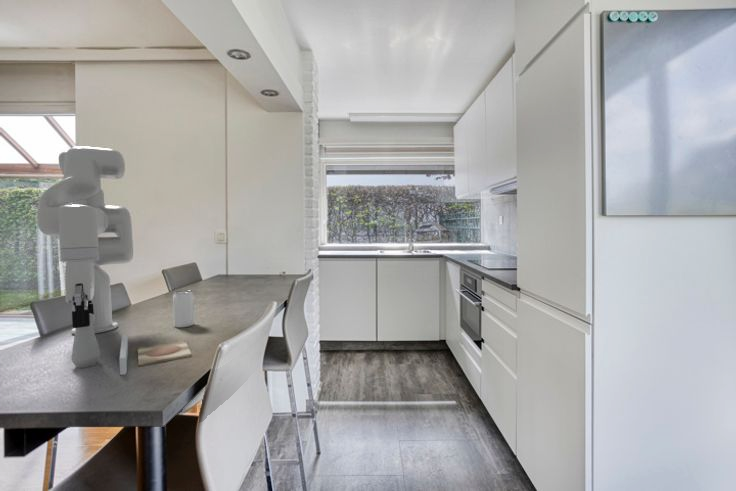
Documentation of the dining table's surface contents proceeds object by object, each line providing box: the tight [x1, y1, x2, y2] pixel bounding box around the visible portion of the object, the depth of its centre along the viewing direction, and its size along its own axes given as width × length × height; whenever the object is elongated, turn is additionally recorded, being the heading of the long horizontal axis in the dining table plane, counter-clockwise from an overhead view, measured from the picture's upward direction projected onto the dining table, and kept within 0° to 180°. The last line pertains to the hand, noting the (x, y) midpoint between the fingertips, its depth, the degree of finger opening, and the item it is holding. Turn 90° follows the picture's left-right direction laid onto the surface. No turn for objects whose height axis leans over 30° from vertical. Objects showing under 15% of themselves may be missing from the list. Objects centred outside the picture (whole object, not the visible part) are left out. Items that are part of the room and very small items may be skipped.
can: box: [172, 289, 196, 329], centre depth 126 cm, size 6×6×12 cm
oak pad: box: [137, 339, 192, 367], centre depth 98 cm, size 14×12×1 cm
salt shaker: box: [70, 313, 101, 369], centre depth 90 cm, size 6×6×13 cm
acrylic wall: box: [118, 334, 129, 376], centre depth 93 cm, size 22×1×4 cm, turn 33°
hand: (84, 323), depth 90 cm, fingers open, 9 cm apart
